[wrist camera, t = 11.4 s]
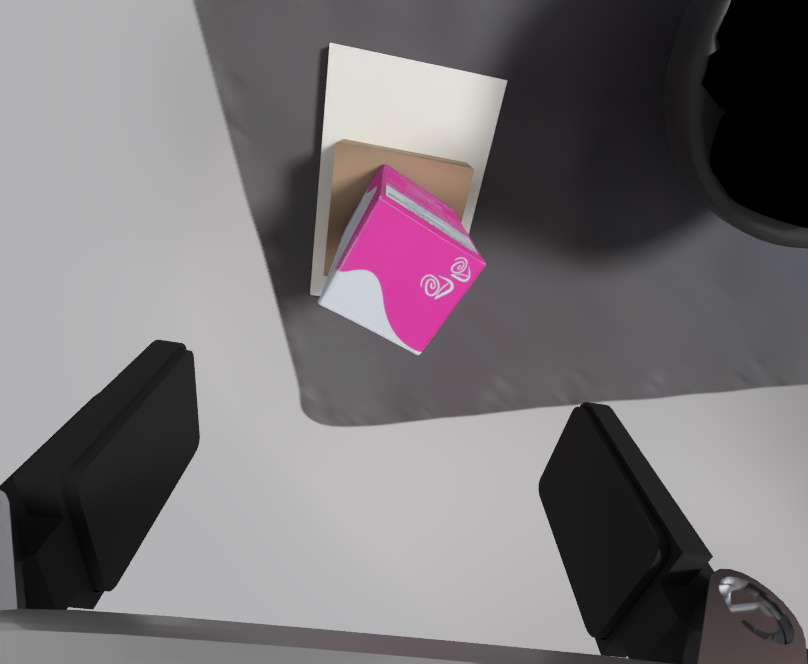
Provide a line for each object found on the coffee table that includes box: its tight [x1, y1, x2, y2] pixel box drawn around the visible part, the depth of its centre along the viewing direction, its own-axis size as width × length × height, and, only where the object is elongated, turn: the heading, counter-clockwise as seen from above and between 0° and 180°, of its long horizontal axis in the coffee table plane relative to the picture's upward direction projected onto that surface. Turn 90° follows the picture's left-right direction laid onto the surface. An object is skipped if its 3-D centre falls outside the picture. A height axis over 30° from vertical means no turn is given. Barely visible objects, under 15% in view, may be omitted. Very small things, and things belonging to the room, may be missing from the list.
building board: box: [310, 43, 507, 296], centre depth 32 cm, size 18×12×1 cm, turn 170°
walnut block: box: [323, 139, 474, 276], centre depth 31 cm, size 9×9×4 cm
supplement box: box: [318, 164, 486, 355], centre depth 24 cm, size 6×6×12 cm
